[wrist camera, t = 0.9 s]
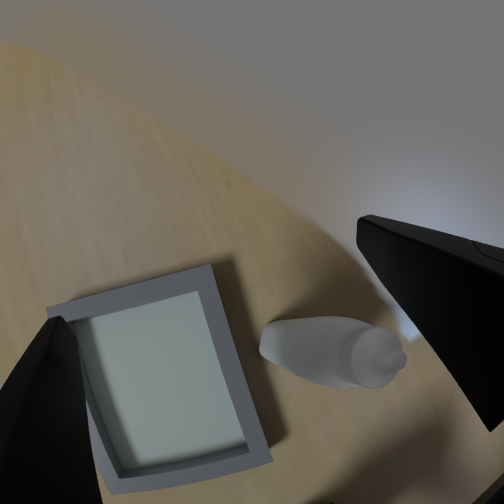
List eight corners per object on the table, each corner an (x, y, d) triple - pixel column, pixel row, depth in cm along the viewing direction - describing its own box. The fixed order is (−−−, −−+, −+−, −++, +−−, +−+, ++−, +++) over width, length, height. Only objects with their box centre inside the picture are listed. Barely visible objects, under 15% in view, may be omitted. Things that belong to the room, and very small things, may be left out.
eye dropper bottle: (308, 393, 20) (407, 448, 9) (247, 343, 20) (299, 364, 9) (346, 345, 21) (466, 352, 10) (288, 295, 22) (378, 258, 10)
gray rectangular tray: (267, 450, 19) (273, 461, 17) (117, 482, 17) (110, 494, 15) (210, 269, 21) (210, 263, 19) (58, 309, 19) (45, 307, 17)
